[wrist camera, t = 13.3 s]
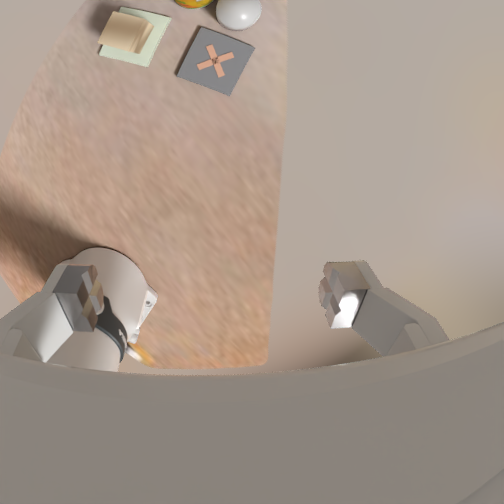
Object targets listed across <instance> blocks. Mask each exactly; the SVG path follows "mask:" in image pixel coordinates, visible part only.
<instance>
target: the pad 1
mask: <svg viewBox="0 0 504 504" xmlns="http://www.w3.org/2000/svg"><path fill="white" fill-rule="evenodd" d="M119 13H123V14H128V15H132V16H135V17H139V18H143V19H145V20H147V21H148V22H149V23H151V24H152V25H153V26H154V28H153V30H152V31H151V33H150V35H149V37H148V39H147V41H146V42H145V44H144V46H143V48H142V50H141V52H140V54H137V53H133V52H129V51H125V50H122V49H118V48H115V47H111V46H107V45H103V46H102V48H101V51H100V53H99V55H100V56H105V57H109V58H114V59H118V60H122V61H126V62H130V63H134V64H137V65H141V66H145V67H148V66H149V64H150V62H151V59H152V57H153V55H154V53H155V51H156V49H157V47H158V45H159V42H160V40H161V38H162V36H163V34H164V32H165V30H166V29H167V27H168V25H169V23H170V21H171V18H170V17H166V16H162V15H158V14H154V13H150V12H145V11H141V10H136V9H131V8H125V7H121V8H120V10H119Z"/></svg>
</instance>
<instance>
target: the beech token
mask: <svg viewBox="0 0 504 504" xmlns="http://www.w3.org/2000/svg"><path fill="white" fill-rule="evenodd" d="M153 28H154V26H153V25H152V24H151V23H149V22H148V21H147V20H145V19H143V18H139V17H135V16H132V15H128V14H123V13H119V12H114V11H113V13H112V15H111V16H110V18H109V20H108V22H107V24H106V26H105V28H104V30H103V32H102V34H101V36H100V38H99V40H98V42H97V43H99V44H103V45H107V46H111V47H115V48H118V49H122V50H125V51H129V52H133V53H137V54H140V52H141V50H142V48H143V46H144V44H145V42H146V41H147V39H148V37H149V35H150V33H151V31H152V30H153Z"/></svg>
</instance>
